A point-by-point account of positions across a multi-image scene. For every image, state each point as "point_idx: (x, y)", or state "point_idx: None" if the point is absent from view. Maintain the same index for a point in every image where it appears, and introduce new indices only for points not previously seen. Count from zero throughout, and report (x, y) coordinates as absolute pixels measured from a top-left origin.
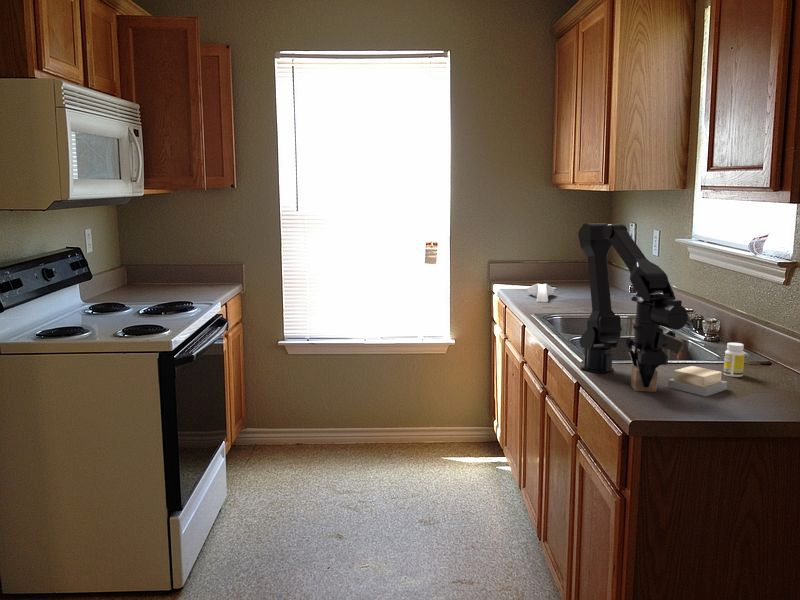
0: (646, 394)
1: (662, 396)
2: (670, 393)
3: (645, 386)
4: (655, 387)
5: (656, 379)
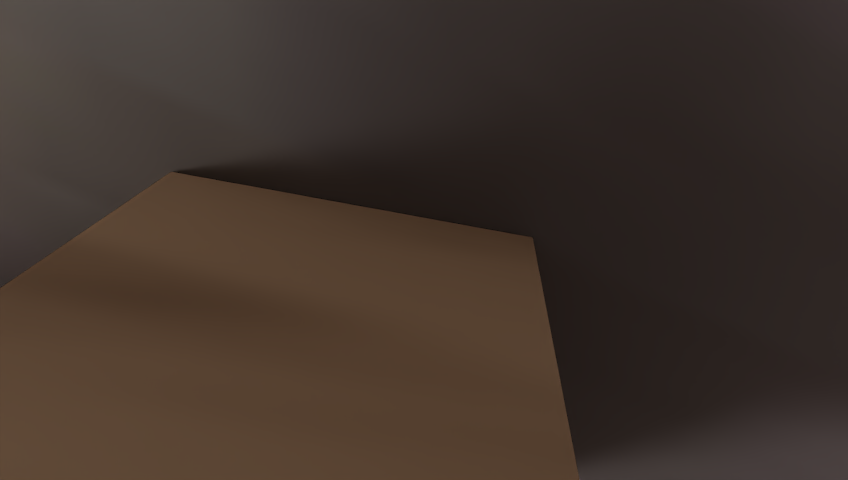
0: (662, 430)
1: (843, 255)
2: (694, 6)
3: None
4: (535, 290)
5: (554, 395)
